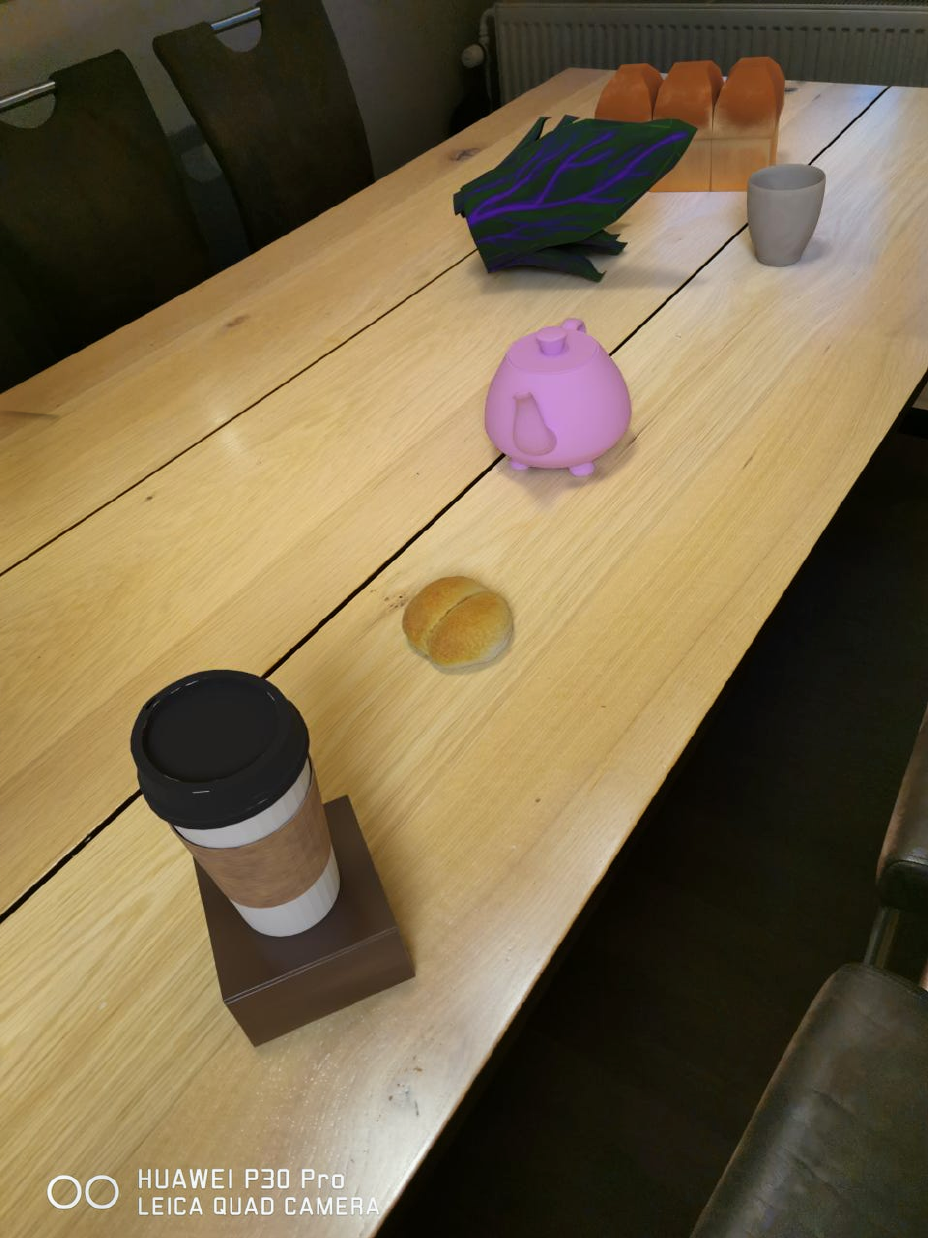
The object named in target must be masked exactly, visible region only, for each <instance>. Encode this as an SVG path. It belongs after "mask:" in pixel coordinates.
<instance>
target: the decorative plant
mask: <svg viewBox="0 0 928 1238" xmlns="http://www.w3.org/2000/svg"><path fill="white" fill-rule="evenodd" d="M552 118H553V116H539V117H538V118H537V120H536V121H535V123H534V124H533V125H532V127H531V128H530V129H529V130H528V132H527V133H526V134H525V135H524V137H523V138H522V139H521V140H520V141H519V143H518V144H516V146H515V147H514V148H513V149H512V150H511V151H510V153H509V154H507V156H506V157H504V158H503V160H501V161H500V163H498V164H497V165H496V166H495V167H494V168H493V169H490V170H487V172H484V173H483V174H481V175H479V176H477V177H475V178H473V179H471V180H470V181H468V182H467V183H464V184H463V185H462V186H461V187H459V191H457V192H455V193H453V195H452V196H453V197H452V203H453V204H452V207H453V212H454V216H455V217H456V216H458V215H460V216H461V218H462V219H465V221H466V224H467V227H468V230H469V234H470V236H471V239H472V241H473V243H474V245H475V247H476V249H477V251H478V253H479V256H480V258H481V260H482V263H483V265H484V267H485V269H486V272H487V273H488V274H491V273H493V272H497V271H499V270H502V269H504V268H508V267H513V266H518V265H526V266H535V267H542V268H547V269H553V270H558V271H564V272H567V273H570V274H573V275H577V276H580V277H584V278H587V279H590V280H592V281H594V282H596V283H599V282H600V281H601V280H602V278H603V277H604V276H605V274H606V273H607V272H608V269H606V270H605V271H603V272H599V271H598V269H597V268H596V267H595V265H594V263H592V261H591V260H589V259H588V258H587V257H585V256H589V255H600V254H601V255H605V254H606V255H614V256H619V255H620V254H621V253H622V252H623V251H624V249H625V248H626V246H627V245H628V243H629V242H627V241H619V240H618V238H619V237H620V236H621V235H622V233H615V234H613V233H609V232H608V231H606V230H605V229H606V228H608V227H610V225H612V224H614V223H616V222H618V220H620V219H621V218H622V217H623V216H624V215H626V213H627V212H628V211H629V210H631V208H632V207H633V206H634V205H635V204H636V203H638V201H639V200H640V199H642V198H643V197H644V196H645V195H646V194H647V193H648V192H647V191H649V190H650V189H651V188H652V187H653V186H654V185H655V184H656V183H657V182H658V181H659V180H660V179H662V178H663V177H664V176H665V175H666V174H668V173H669V172H670V171H671V170H672V169H673V168H674V167H675V166H676V164H677V163H678V162H679V160H680V159H681V158H682V156H683V155H684V153H685V152H686V150H687V149H688V147H689V145H690V143H691V141H692V139H693V137H694V136H695V134H696V132H697V130H698V128H696V127H694V126H692V125H690V124H688V123H686V122H684V121H682V120H680V119H674V118H666V119H656V120H652V121H647V122H642V123H639V122H627V121H615V120H603V119H594V118H590V117H589V118H588V117H586V118H583V119H581V117H580V116H574V115H571V114H564V115H563V117H561V119H560V121H559V122H558V123H557V125H555V127H554V128H553V129H552V130H549V131H548V132H547V133H545V134H544V135H542V134H543V130H544V127H545V123H546V122H547V121H548V120H549V119H552Z"/></svg>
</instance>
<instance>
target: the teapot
mask: <svg viewBox="0 0 928 1238" xmlns="http://www.w3.org/2000/svg"><path fill="white" fill-rule="evenodd" d="M632 411H633V410H632V402H631V396H630V393H629V388H628V386H627V383H626V380H625V378H624V376H623V373H622V372H621V370H620V368H619V367H618V365H617V363H616V362H615V361H614V360H613V358H612V357H611V356H610V354H609V353H608V352H607V350H606V348H604V347H603V346H602V345H601V343H600V342H599V341H598V340H597V339H596V338H594V336H592V335H591V334H588V333H587V327H586V323H585V322H584V321H583V320H581V319H580V318H577V317H571V318H570V317H569V318H566V319H565V320H563V321H562V323H561V324H560V325H559V326H558V325H550V326H549V325H548V326H544V327H542V328H540V329H537V331H534V332H531V333H529V334H526V335H524V336H522V337H521V338H519V339H517V340H516V341H514V342H513V344H511V346H510V347H509V348H508V349H507V351H506V353H505V354H504V356H503V357H502V359H501V361H500V363H499V365H498V367H497V368H496V371H495V373H494V374H493V376H492V379H491V382H490V384H489V387H488V390H487V394H486V397H485V404H484V420H483V421H484V429H485V433H486V435H487V437H488V439H489V440H490V442H491V443H492V445H493V446H494V447H496V448H497V450H499V451H500V452H501V453H502V454H504V455H505V456H507V457H509V462H508V467H510V468H511V469H513V470H516V471H521V470H527V469H529V468H531V467H533V468H539V469H565V468H567V469H568V471H569V473H570V474H572V475H574V476H577V477H583V476H587V475H590V474H592V473H593V472H594V471H595V468H596V467H595V463H594V462H593V461H594V460H595V459H596V460H597V459H598V458H600V457H601V456H603V455H604V454H605V453H607V452H608V451H609V450H610V449H612V447H614V445H616V444H617V443H618V442H619V441H620V439H621V438H622V437H623V436H624V434H626V431H627V429H628V428H629V426H630V423H631V419H632V413H633V412H632Z"/></svg>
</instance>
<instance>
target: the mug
mask: <svg viewBox="0 0 928 1238" xmlns="http://www.w3.org/2000/svg"><path fill="white" fill-rule="evenodd" d="M826 183H827V176H826V174H825V171H824V170H822V169H821V168H819V167H817V166H814V165H810V164H804V163H781V164H775V165H774V166H769V167H765V168H762V169H760V170H758V171H756V172H754V173H753V174H752V175H751V176H750V178H749V180H748V186H747V191H746V217H747V226H748V231H749V236H750V239H751V243H752V245H753V248H754V250H755V253H756V259H757V261H758V262H760V263H761V264H763V265H766V266H770V267H783V266H785V267H786V266H791V265H794V264H796V263H797V262H799V261H800V260H801V259H802V257H803V254H804V252H805V250H806V248H807V246H808V245H809V243H810V241H811V239H812V237H813V235H814V233H815V230H816V229H817V225H818V222H819V219H820V215H821V211H822V208H823V203H824V198H825V191H826Z"/></svg>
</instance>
